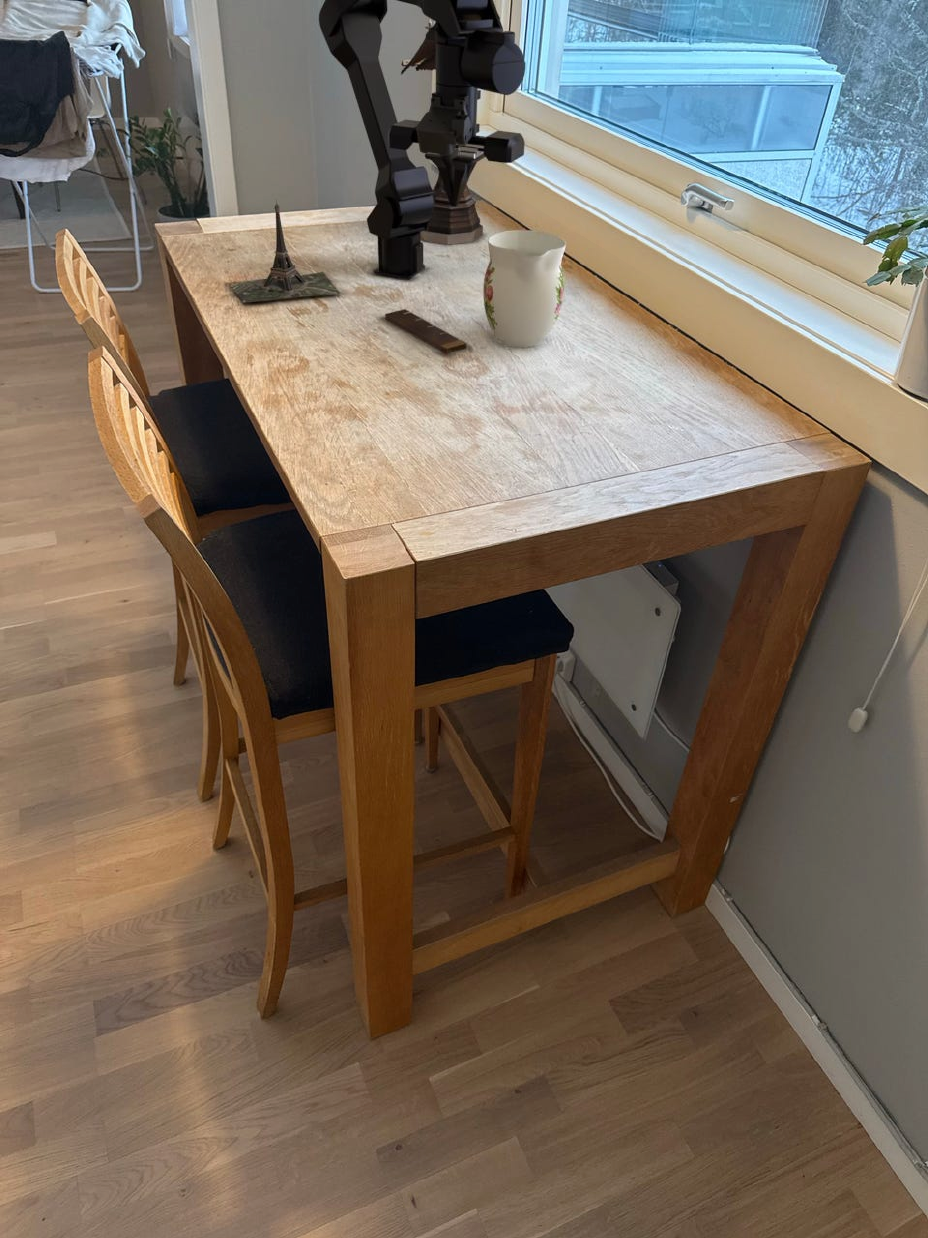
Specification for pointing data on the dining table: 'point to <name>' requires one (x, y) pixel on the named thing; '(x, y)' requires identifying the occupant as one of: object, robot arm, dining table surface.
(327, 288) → the eiffel tower figurine
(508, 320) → the pitcher
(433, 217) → the bird statue
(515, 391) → the dining table surface
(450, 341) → the ruler
